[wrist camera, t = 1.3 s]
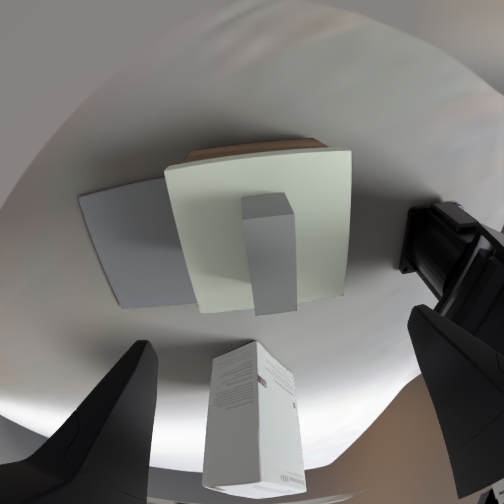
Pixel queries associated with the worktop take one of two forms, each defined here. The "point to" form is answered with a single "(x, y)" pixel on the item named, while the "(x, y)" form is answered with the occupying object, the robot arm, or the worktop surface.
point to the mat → (139, 244)
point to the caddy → (253, 148)
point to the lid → (264, 227)
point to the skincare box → (252, 427)
